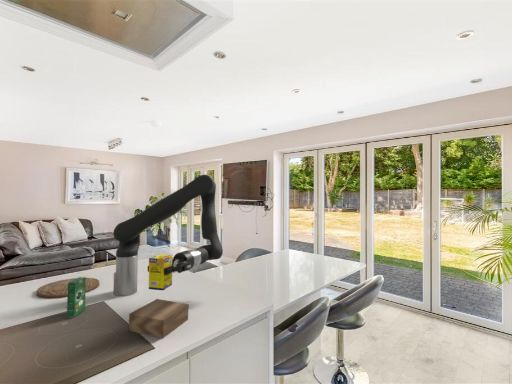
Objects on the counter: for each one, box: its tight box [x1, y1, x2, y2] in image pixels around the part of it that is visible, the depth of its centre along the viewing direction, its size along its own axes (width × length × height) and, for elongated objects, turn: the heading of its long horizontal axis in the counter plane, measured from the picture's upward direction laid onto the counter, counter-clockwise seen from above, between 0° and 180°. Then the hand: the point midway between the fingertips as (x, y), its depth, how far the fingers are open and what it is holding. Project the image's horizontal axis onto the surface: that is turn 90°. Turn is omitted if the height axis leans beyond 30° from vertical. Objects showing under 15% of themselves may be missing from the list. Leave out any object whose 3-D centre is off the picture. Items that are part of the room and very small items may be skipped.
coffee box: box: [66, 276, 87, 319], centre depth 104 cm, size 8×3×13 cm, turn 6°
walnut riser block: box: [128, 298, 189, 339], centre depth 96 cm, size 14×14×6 cm
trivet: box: [36, 277, 100, 299], centre depth 131 cm, size 25×25×2 cm
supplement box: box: [148, 254, 173, 291], centre depth 96 cm, size 6×6×11 cm
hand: (156, 270), depth 94 cm, fingers closed on supplement box, 7 cm apart
